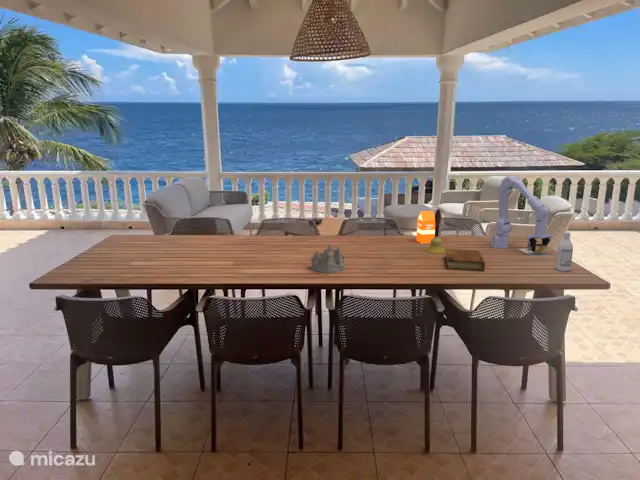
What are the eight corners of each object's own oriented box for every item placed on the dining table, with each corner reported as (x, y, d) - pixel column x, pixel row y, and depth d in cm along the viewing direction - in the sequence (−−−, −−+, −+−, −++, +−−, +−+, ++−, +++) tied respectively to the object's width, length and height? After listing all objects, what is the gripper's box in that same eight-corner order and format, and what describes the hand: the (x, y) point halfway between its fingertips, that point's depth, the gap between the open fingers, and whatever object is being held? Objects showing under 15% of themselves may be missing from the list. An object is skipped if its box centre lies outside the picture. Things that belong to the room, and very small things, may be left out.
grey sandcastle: (350, 269, 263) (348, 241, 260) (324, 275, 254) (322, 246, 251) (333, 264, 276) (331, 237, 273) (307, 270, 267) (305, 242, 264)
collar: (535, 253, 286) (536, 246, 285) (530, 250, 291) (531, 244, 290) (545, 252, 286) (545, 246, 285) (539, 250, 292) (540, 243, 291)
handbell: (450, 252, 297) (453, 210, 291) (434, 254, 291) (436, 212, 285) (437, 247, 307) (439, 207, 302) (421, 249, 302) (423, 208, 296)
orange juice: (416, 240, 324) (417, 210, 320) (428, 240, 326) (430, 209, 322) (421, 243, 317) (423, 212, 312) (434, 242, 319) (436, 211, 314)
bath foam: (573, 270, 262) (578, 233, 257) (562, 271, 260) (566, 234, 255) (563, 267, 268) (567, 230, 263) (552, 268, 266) (557, 231, 261)
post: (528, 252, 297) (529, 242, 296) (526, 251, 299) (527, 241, 298) (531, 252, 297) (533, 242, 296) (529, 251, 300) (530, 241, 298)
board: (532, 258, 285) (533, 256, 284) (518, 250, 301) (518, 248, 301) (549, 257, 286) (549, 255, 285) (533, 250, 302) (534, 248, 302)
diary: (484, 272, 261) (485, 261, 259) (447, 270, 264) (447, 260, 263) (479, 260, 283) (479, 250, 281) (444, 258, 286) (445, 248, 284)
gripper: (532, 229, 280) (529, 252, 284) (556, 228, 282) (553, 252, 285) (525, 226, 287) (523, 249, 290) (549, 226, 289) (547, 249, 292)
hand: (538, 250), depth 288 cm, fingers closed on collar, 5 cm apart
